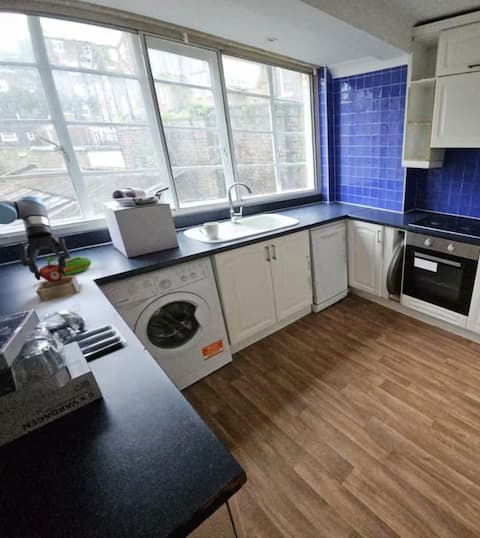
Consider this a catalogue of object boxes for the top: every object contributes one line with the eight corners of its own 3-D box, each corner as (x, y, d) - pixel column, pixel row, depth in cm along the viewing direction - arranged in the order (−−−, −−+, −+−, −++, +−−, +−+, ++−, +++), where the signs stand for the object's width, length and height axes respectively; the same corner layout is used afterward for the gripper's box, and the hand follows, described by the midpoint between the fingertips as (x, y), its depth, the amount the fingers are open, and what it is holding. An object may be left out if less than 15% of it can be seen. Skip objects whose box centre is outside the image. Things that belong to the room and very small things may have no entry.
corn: (90, 254, 148) (37, 268, 132) (97, 268, 151) (45, 283, 134) (84, 253, 151) (31, 266, 135) (90, 266, 154) (39, 281, 138)
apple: (64, 281, 122) (54, 259, 118) (42, 286, 119) (30, 263, 115) (68, 275, 128) (58, 254, 124) (47, 279, 125) (36, 257, 121)
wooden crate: (41, 301, 119) (35, 291, 117) (45, 292, 127) (40, 282, 125) (77, 293, 125) (73, 283, 123) (79, 284, 133) (74, 275, 131)
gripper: (72, 229, 133) (85, 273, 128) (9, 239, 122) (20, 287, 117) (66, 220, 128) (79, 265, 122) (-1, 229, 116) (11, 279, 111)
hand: (51, 275), depth 120 cm, fingers closed on apple, 7 cm apart
